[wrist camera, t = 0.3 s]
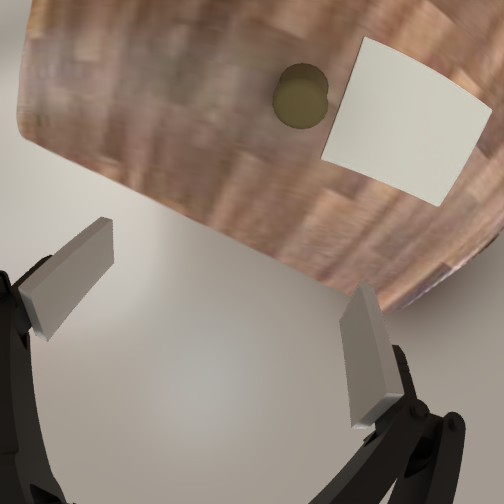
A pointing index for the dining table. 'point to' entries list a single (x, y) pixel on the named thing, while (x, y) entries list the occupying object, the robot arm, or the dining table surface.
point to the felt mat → (404, 124)
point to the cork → (301, 96)
